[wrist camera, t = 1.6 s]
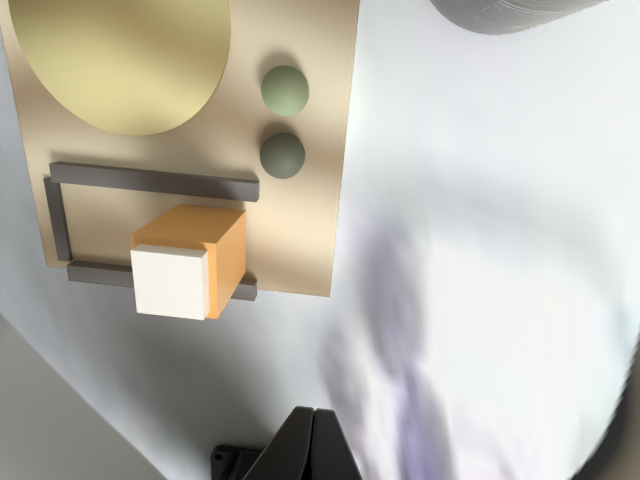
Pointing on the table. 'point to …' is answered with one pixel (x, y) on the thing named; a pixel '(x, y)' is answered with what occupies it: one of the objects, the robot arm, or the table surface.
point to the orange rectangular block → (189, 261)
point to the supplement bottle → (507, 13)
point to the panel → (184, 126)
